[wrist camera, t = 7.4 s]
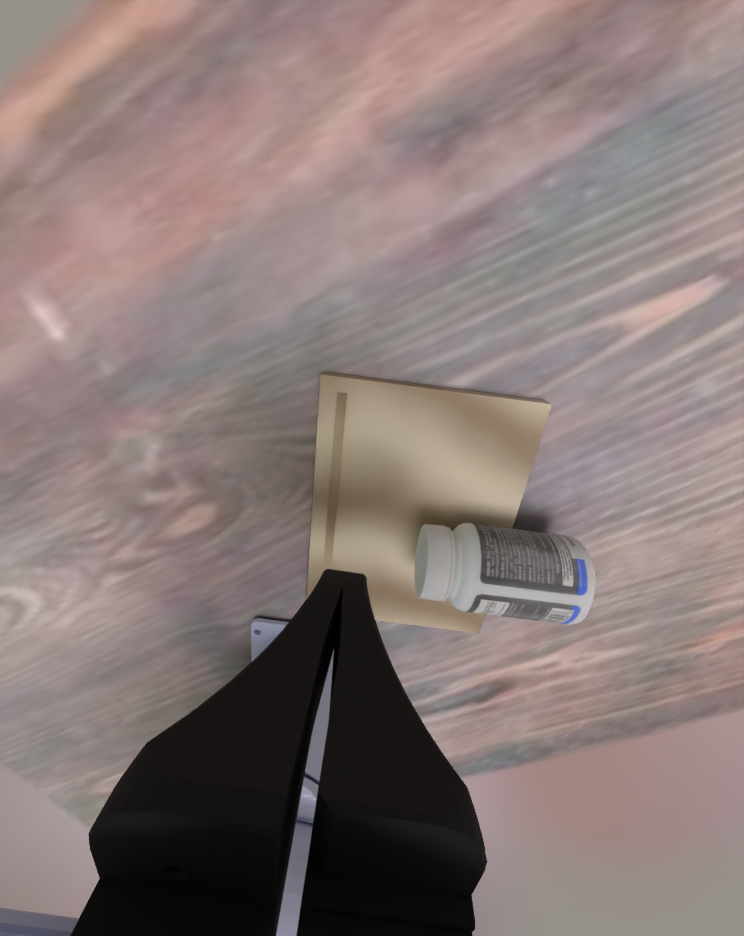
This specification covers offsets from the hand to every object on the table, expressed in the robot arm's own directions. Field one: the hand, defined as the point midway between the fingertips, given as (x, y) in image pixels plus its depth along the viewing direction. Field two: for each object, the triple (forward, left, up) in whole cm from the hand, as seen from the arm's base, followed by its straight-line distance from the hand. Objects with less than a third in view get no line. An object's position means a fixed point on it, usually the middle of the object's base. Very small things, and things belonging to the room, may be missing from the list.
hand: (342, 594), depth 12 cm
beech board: (-3, -3, -10) cm, 11 cm away
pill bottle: (-3, -12, -7) cm, 15 cm away
